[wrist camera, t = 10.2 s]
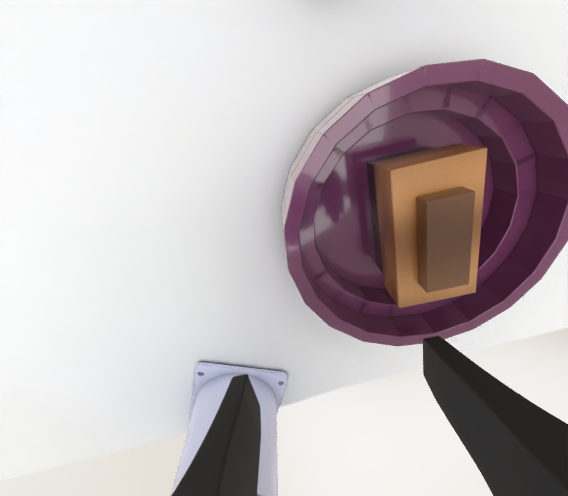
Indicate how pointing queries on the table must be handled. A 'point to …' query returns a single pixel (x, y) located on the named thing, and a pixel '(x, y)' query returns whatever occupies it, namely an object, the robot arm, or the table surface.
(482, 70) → the bowl
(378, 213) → the scrub brush
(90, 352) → the table surface
